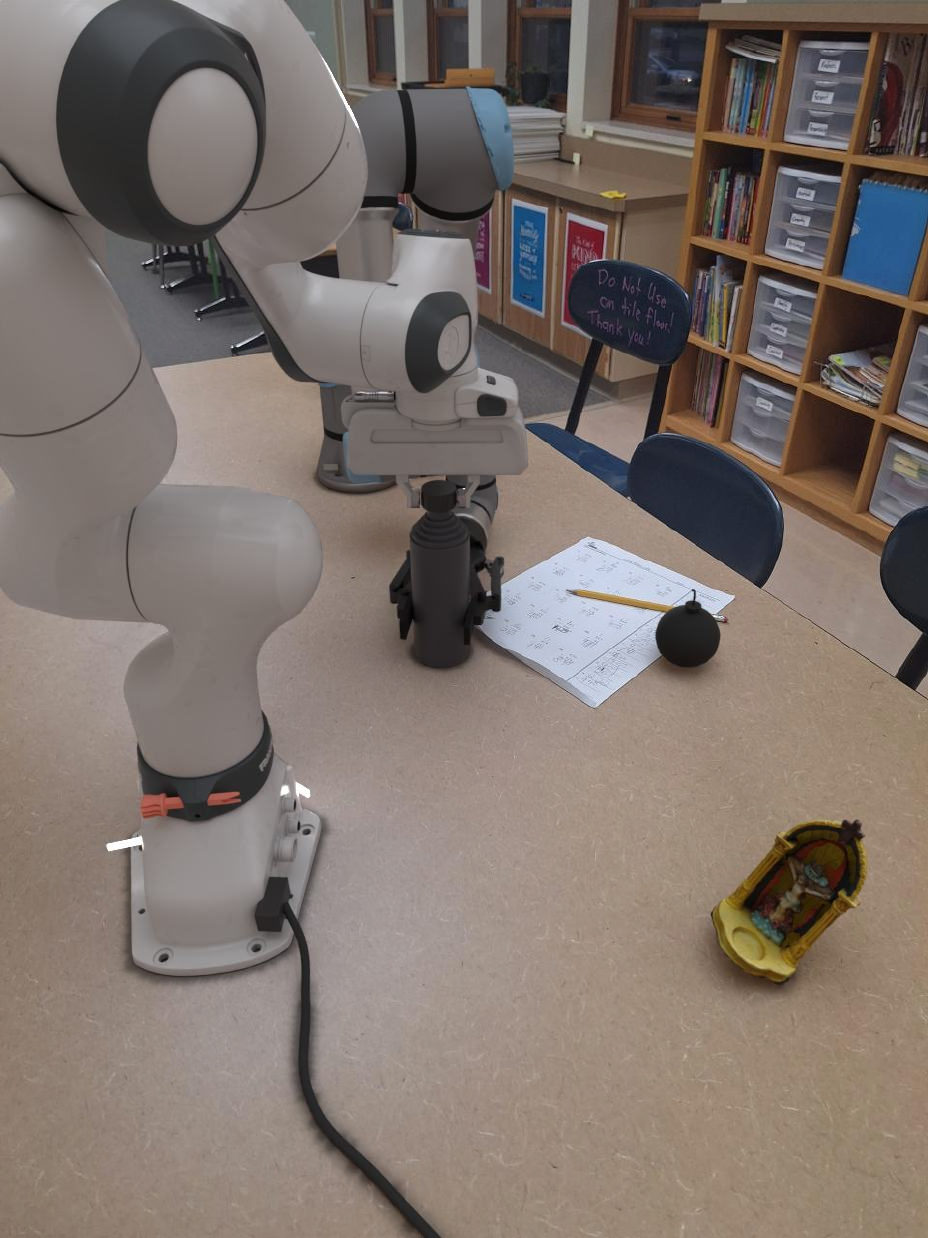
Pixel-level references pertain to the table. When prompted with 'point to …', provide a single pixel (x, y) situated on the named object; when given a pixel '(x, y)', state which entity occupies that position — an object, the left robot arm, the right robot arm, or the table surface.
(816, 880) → the shrine
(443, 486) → the cap
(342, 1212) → the table surface
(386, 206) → the right robot arm
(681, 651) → the bomb
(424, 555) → the bottle
